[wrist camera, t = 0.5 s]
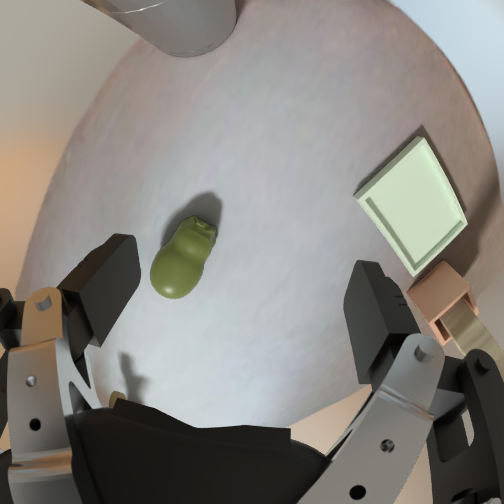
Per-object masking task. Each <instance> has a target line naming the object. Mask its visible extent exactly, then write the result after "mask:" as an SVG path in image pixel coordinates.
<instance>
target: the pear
mask: <svg viewBox="0 0 504 504" xmlns="http://www.w3.org/2000/svg"><path fill="white" fill-rule="evenodd" d="M215 235H216V228H215V227H212V226H210V225H208V224H207V223H205V222H203V221H201V220H200V219H199V218H197V217H196V216H192V217H190V218H188V219H187V220H183V221H182V222H181V223H180V224H179V226H178V229H177V230H176V232H175V233H174V235H173V236H172V238H171V240H170V241H169V242H168V243H167V244H166V245H164V246H163V247H162V248H161V249H160V250H159V252H158V253H157V255H156V256H155V258H154V260H153V263H152V266H151V270H150V280H151V284H152V286H153V287H154V289H155V290H156V291H157V292H158V293H159V294H160V295H162V296H164V297H166V298H170V299H179V298H182V297H184V296H186V295H187V294H188V293H190V292H191V291H192V290H193V289H194V287H195V286H196V285H197V284H198V282H199V280H200V279H201V276H202V274H203V270H204V264H205V261H206V260H207V258H208V256H209V255H210V253H211V250H212V248H213V247H214V245H215V243H216V238H215Z"/></svg>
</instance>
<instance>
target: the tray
mask: <svg viewBox="0 0 504 504" xmlns="http://www.w3.org/2000/svg"><path fill="white" fill-rule="evenodd" d="M353 197H354V198H355V199H356V200H357V202H358V203H359V204H360V205H361V207H362V208H363V209H364V210H365V212H366V213H367V214H368V216H369V217H370V218H371V219H372V221H373V222H374V223H375V225H376V226H377V227H378V229H379V230H380V231H381V233H382V234H383V235H384V237H385V238H386V240H387V241H388V242H389V244H390V245H391V247H392V248H393V249H394V251H395V252H396V254H397V255H398V257H399V258H400V259H401V261H402V262H403V264H404V265H405V267H406V268H407V270H408V271H409V272H410V274H411V275H412V276H413V277H414V276H415V275H416V274H417V273H418V272H419V271H421V270H422V269H423V268H424V267H425V266H426V265H427V264H428V263H429V262H430V261H431V260H432V259H434V258H435V257H436V256H437V255H438V254H439V253H440V252H441V251H442V250H443V249H444V248H445V247H446V246H447V245H448V244H449V243H450V242H451V241H452V240H453V239H454V238H455V237H456V236H457V235H458V234H459V233H460V232H461V231H462V230H463V229H464V227H465V226H466V225H467V224H468V223H467V220H466V218H465V216H464V213H463V211H462V209H461V206H460V204H459V202H458V200H457V197H456V195H455V193H454V191H453V189H452V187H451V185H450V183H449V181H448V179H447V177H446V175H445V173H444V171H443V169H442V168H441V166H440V164H439V162H438V160H437V158H436V157H435V155H434V153H433V151H432V150H431V148H430V146H429V145H428V143H427V141H426V140H425V138H423V137H418V136H417V137H416V138H415V139H414V140H412V141H411V142H410V143H409V144H408V145H407V146H406V147H405V148H404V149H403V150H402V151H401V152H400V153H399V154H398V155H397V156H396V157H395V158H393V159H392V160H391V161H390V162H389V163H388V164H387V165H386V166H385V167H384V168H383V169H382V170H381V171H380V172H378V173H377V174H376V175H375V176H374V177H373V178H372V179H371V180H370V181H369V182H368V183H367V184H365V185H364V186H363V187H362V188H361V189H360V190H359V191H358V192H357V193H356V194H355V195H353Z"/></svg>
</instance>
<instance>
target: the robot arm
mask: <svg viewBox="0 0 504 504" xmlns="http://www.w3.org/2000/svg"><path fill="white" fill-rule="evenodd" d="M80 1H82V2H84V3H86V4H88V5H90V6H92V7H94V8H96V9H98V10H99V11H101V12H103V13H104V14H106V15H108V16H109V17H111V18H113V19H115V20H116V21H118V22H119V23H121V24H122V25H124V26H126V27H127V28H129V29H130V30H132V31H133V32H135V33H136V34H138V35H139V36H141V37H142V38H144V39H145V40H147V41H148V42H150V43H151V44H153V45H154V46H155V47H157V48H158V49H160V50H161V51H163V52H165V53H167V54H169V55H173V56H176V57H194V56H198V55H202V54H205V53H207V52H210V51H212V50H214V49H215V48H217V47H218V46H220V45H221V44H222V43H223V42H224V41H226V40H227V39H228V37H229V36H230V34H231V33H232V32H233V29H234V27H235V25H236V19H237V14H236V6H235V0H80ZM140 279H141V268H140V262H139V256H138V250H137V243H136V239H135V237H134V236H133V235H127V234H117V233H116V234H113V235H112V236H111V237H110V238H109V239H108V240H107V241H106V242H105V243H104V244H103V245H101V246H99V247H97V248H96V249H94V250H92V251H91V252H90V253H89V254H88V255H87V256H86V257H85V258H84V260H82V261H81V262H80V263H79V264H78V265H77V267H75V268H74V269H73V270H72V271H71V272H70V273H69V274H68V275H67V277H66V278H65V279H64V280H63V281H62V282H61V283H60V284H59V285H58V286H57V287H56V288H54V287H45V288H41V289H39V290H37V291H35V292H34V293H32V294H31V295H30V296H29V297H28V298H27V300H26V301H14V299H13V297H12V295H11V293H10V291H9V290H8V289H5V288H0V343H1V344H2V346H3V347H4V349H5V350H6V351H5V353H4V354H3V356H2V357H1V359H0V438H1V435H2V433H3V430H4V428H5V426H6V423H7V421H8V425H9V436H10V443H11V449H9V450H7V451H5V452H3V451H2V449H0V504H393V503H394V502H395V500H396V498H397V496H398V495H399V493H400V491H401V490H402V488H403V486H404V484H405V482H406V481H407V479H408V477H409V475H410V473H411V471H412V469H413V467H414V465H415V463H416V461H417V459H418V457H419V455H420V452H421V450H422V448H423V446H424V443H425V441H426V442H427V449H428V456H429V463H430V471H431V482H432V495H433V504H504V381H503V379H502V376H501V374H500V372H499V369H498V367H497V365H496V363H495V361H494V359H493V358H492V357H491V356H490V355H489V354H488V353H487V352H485V351H483V350H481V349H472V350H470V351H469V352H468V353H467V355H466V356H465V357H464V359H463V360H461V359H457V358H453V357H449V356H445V354H444V351H443V349H442V347H441V346H440V344H439V343H438V342H437V341H436V340H434V339H433V338H431V337H430V336H427V335H425V334H421V332H420V329H419V327H418V325H417V323H416V321H415V319H414V316H413V314H412V312H411V310H410V308H409V306H407V305H408V304H407V302H406V300H405V298H403V297H404V296H403V294H402V292H401V290H400V288H399V286H398V285H397V284H396V283H395V282H394V281H393V280H392V279H391V278H390V277H385V275H384V273H383V271H382V269H381V267H380V265H379V263H378V262H373V261H364V260H357V261H356V263H355V265H354V268H353V272H352V275H351V278H350V281H349V284H348V287H347V290H346V294H345V297H344V314H345V318H346V323H347V327H348V332H349V336H350V341H351V345H352V350H353V355H354V360H355V365H356V370H357V376H358V381H359V384H371V386H372V391H371V393H370V394H369V395H368V397H367V399H366V400H365V402H364V403H363V405H362V406H361V408H360V409H359V411H358V412H357V414H356V415H355V417H354V418H353V420H352V421H351V423H350V424H349V425H348V427H347V428H346V429H345V431H344V433H343V434H342V435H341V436H340V437H339V439H338V440H337V441H336V442H335V444H334V445H333V446H332V447H331V448H330V449H329V451H328V452H327V453H326V454H325V455H324V454H322V453H321V452H319V451H318V450H316V449H315V448H312V447H310V446H309V445H306V444H304V443H301V442H299V441H296V440H292V439H291V429H290V428H275V427H262V426H251V425H240V426H229V427H215V428H196V427H193V426H190V425H188V424H186V423H184V422H182V421H180V420H177V419H175V418H173V417H171V416H169V415H167V414H165V413H163V412H161V411H159V410H158V409H156V408H152V407H148V406H145V405H141V404H138V403H134V402H131V401H128V400H124V399H121V398H118V397H117V400H116V402H115V404H114V407H105V408H102V407H101V405H100V403H99V400H98V398H97V395H96V391H95V387H94V383H93V378H92V374H91V369H90V364H89V359H88V354H87V352H86V350H85V348H86V347H87V345H88V344H91V345H94V346H97V347H101V346H102V344H103V342H104V341H105V339H106V337H107V336H108V334H109V332H110V330H111V329H112V327H113V326H114V324H115V322H116V321H117V319H118V317H119V316H120V314H121V312H122V311H123V309H124V308H125V306H126V305H127V303H128V301H129V300H130V298H131V297H132V295H133V294H134V292H135V290H136V289H137V287H138V286H139V283H140ZM467 409H468V410H469V414H470V418H471V421H472V425H473V429H474V439H473V442H472V444H471V445H470V446H469V445H468V441H467V436H466V432H465V428H464V423H463V420H462V416H461V415H462V414H463V413H464V412H465V411H466V410H467Z"/></svg>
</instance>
